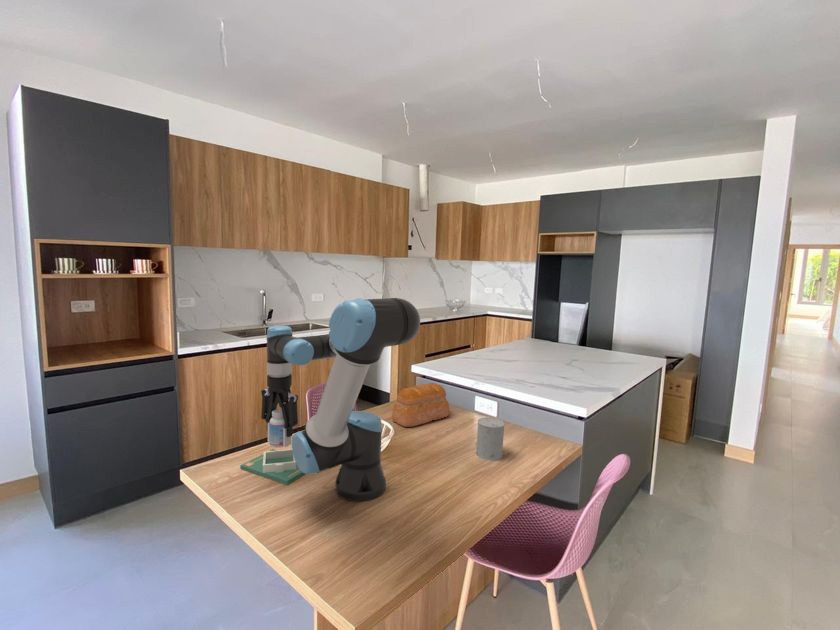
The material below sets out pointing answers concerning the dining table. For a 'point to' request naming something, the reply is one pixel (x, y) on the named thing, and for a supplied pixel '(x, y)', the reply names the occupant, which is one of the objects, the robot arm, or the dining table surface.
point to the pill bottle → (276, 428)
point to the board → (272, 474)
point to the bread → (420, 405)
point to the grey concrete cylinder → (490, 438)
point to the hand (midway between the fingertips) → (279, 443)
